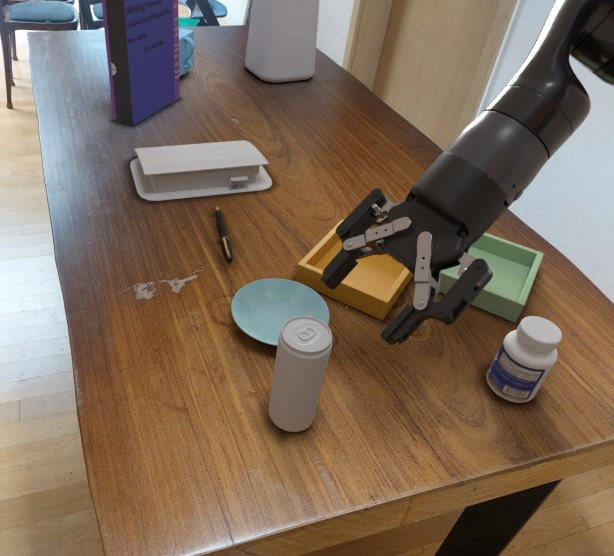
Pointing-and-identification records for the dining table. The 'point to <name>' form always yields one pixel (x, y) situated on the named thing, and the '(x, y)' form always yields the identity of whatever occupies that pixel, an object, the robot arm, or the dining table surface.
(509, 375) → the pill bottle
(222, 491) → the dining table surface
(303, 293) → the saucer
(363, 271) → the ochre tray
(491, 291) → the sage tray
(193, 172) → the white plastic case
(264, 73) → the plastic bottle
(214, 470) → the dining table surface
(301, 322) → the beverage can
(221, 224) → the fountain pen
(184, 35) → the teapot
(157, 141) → the dining table surface
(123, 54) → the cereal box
